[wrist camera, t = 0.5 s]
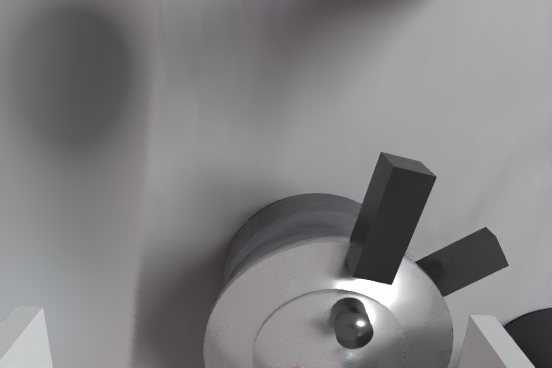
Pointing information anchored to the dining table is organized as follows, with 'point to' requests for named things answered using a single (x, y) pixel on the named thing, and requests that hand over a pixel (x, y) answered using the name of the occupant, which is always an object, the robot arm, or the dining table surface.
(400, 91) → the dining table surface
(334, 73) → the dining table surface
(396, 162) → the lid
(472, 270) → the pot
